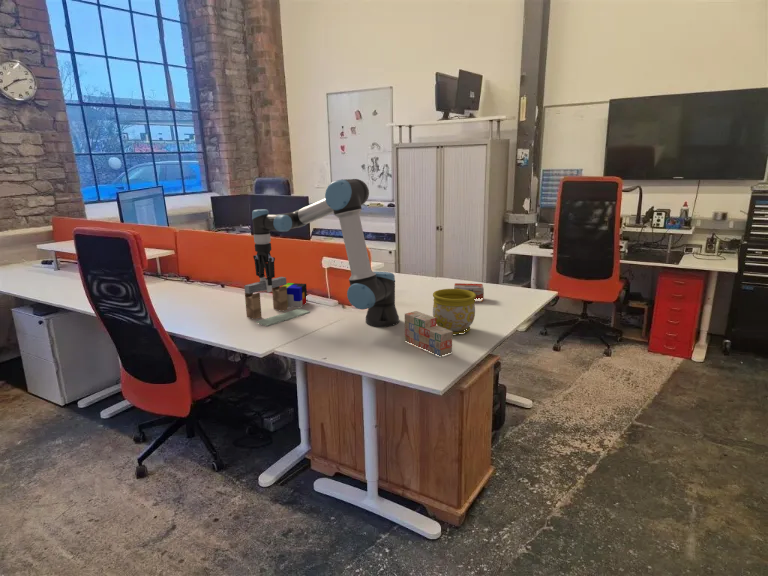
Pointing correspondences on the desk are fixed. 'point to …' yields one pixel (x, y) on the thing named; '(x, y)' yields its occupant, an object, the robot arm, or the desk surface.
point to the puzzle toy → (296, 294)
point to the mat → (282, 317)
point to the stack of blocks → (427, 333)
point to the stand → (255, 306)
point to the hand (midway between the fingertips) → (266, 291)
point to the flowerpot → (454, 309)
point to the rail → (264, 285)
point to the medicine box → (472, 288)
